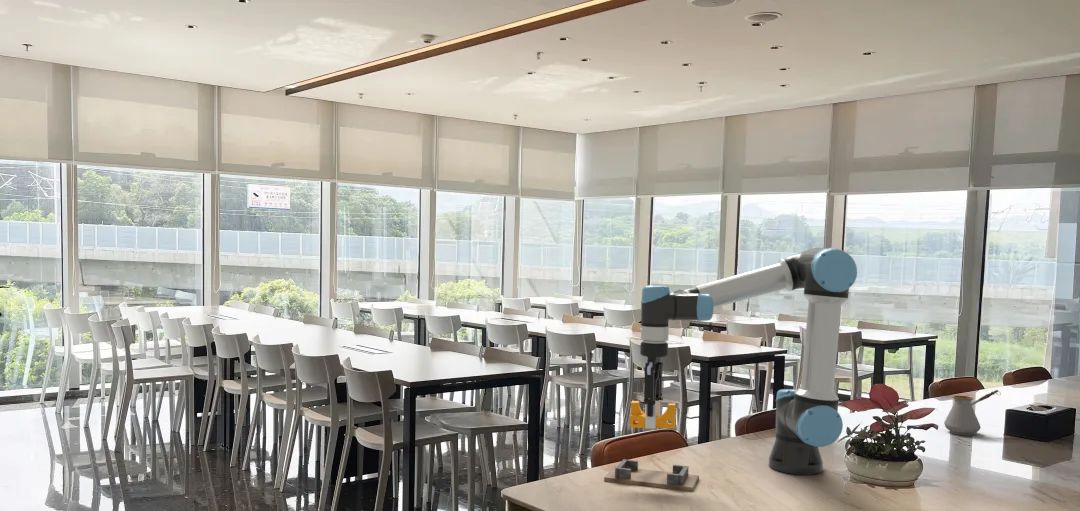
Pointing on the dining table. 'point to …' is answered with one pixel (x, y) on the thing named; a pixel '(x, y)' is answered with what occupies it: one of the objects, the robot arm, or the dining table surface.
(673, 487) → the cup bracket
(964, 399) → the coffee pot
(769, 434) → the dining table surface
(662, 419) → the pipe clamp
